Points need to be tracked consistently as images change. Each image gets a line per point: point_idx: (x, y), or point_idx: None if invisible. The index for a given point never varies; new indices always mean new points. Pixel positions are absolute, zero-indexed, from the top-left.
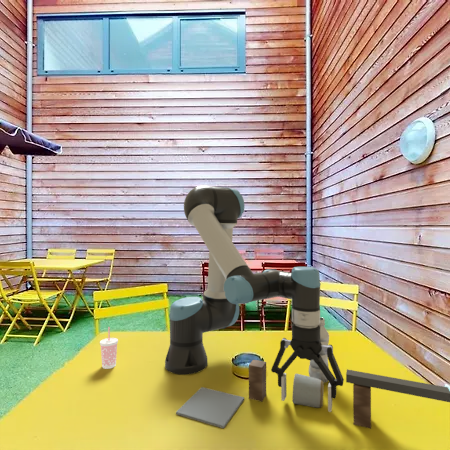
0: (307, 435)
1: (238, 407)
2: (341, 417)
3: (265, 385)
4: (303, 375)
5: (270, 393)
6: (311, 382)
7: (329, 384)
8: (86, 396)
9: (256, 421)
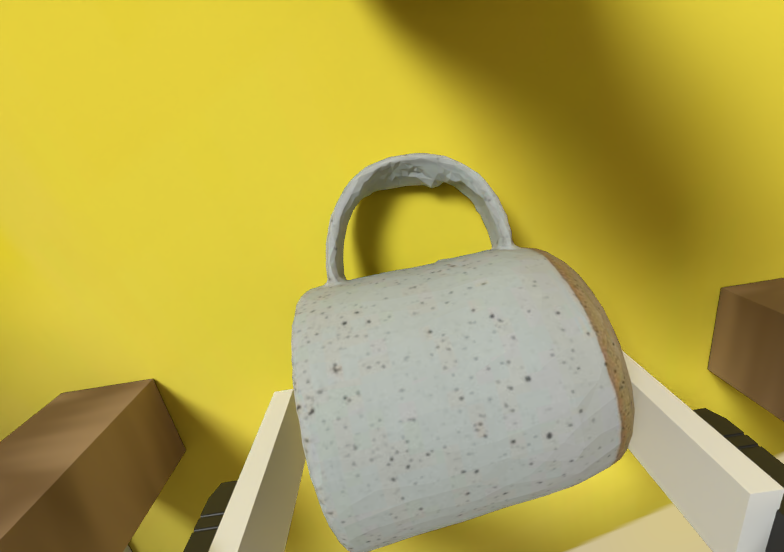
0: (502, 535)
1: (127, 547)
2: (644, 344)
3: (110, 450)
4: (411, 454)
5: (162, 348)
6: (526, 496)
7: (749, 536)
8: None
9: None
